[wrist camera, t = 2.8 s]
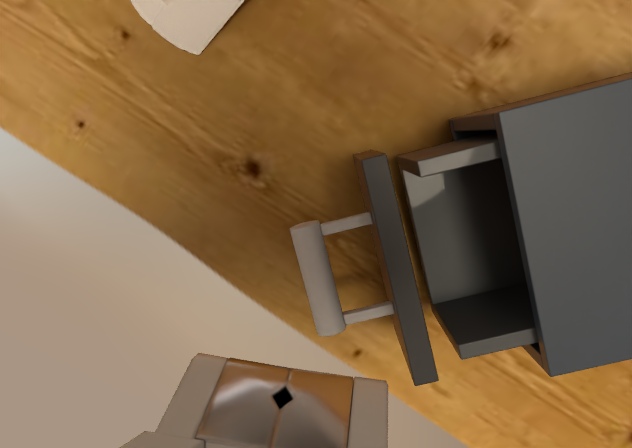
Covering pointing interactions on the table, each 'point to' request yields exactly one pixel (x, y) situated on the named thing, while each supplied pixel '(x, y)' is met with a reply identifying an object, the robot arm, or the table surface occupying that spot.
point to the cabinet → (571, 216)
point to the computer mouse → (187, 20)
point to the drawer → (432, 253)
